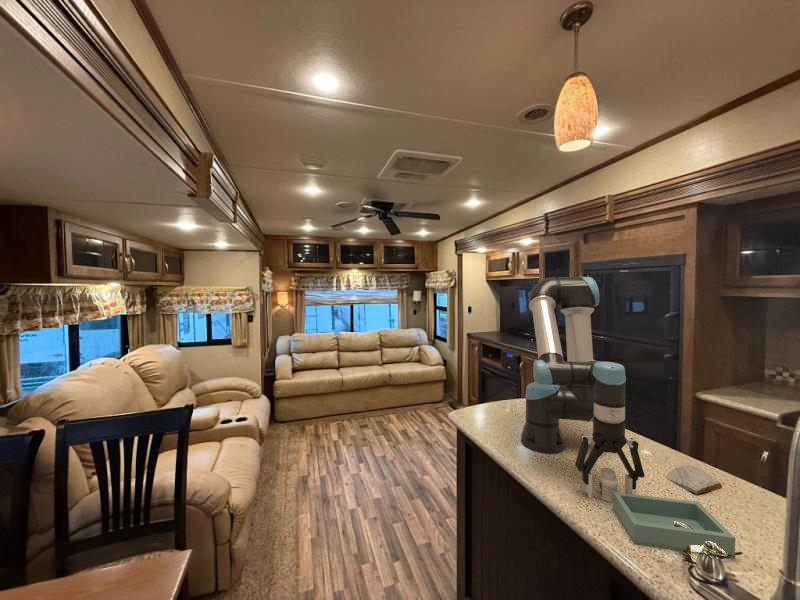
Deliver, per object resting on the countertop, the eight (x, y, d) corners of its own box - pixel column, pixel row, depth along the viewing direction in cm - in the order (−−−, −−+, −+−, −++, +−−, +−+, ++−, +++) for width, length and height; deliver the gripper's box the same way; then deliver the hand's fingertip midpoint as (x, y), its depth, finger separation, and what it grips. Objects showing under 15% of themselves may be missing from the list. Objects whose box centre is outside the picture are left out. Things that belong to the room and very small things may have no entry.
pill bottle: (600, 490, 95) (600, 464, 94) (618, 496, 92) (618, 470, 92) (598, 498, 91) (598, 471, 91) (616, 505, 89) (616, 477, 88)
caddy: (612, 508, 87) (613, 492, 87) (697, 519, 83) (698, 501, 82) (634, 543, 75) (634, 524, 75) (734, 558, 71) (735, 537, 70)
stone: (659, 477, 102) (659, 466, 101) (686, 470, 105) (686, 459, 105) (696, 497, 92) (697, 485, 92) (725, 489, 95) (725, 477, 95)
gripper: (569, 420, 90) (569, 500, 90) (661, 427, 85) (660, 511, 85) (562, 410, 97) (562, 484, 98) (647, 416, 92) (646, 494, 93)
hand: (608, 497), depth 92 cm, fingers open, 9 cm apart
